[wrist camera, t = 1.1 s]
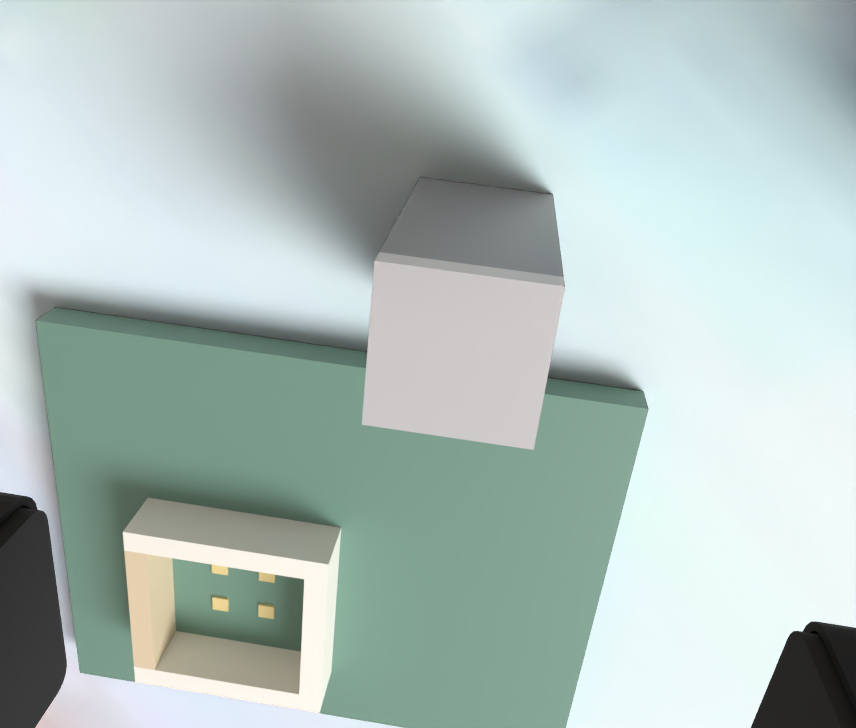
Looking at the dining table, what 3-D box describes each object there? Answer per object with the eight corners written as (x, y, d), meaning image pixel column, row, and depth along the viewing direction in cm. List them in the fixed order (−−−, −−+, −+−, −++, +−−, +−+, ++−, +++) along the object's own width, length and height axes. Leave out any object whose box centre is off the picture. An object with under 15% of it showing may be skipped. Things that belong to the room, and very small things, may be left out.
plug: (419, 177, 24) (374, 260, 17) (553, 194, 24) (564, 286, 16) (407, 300, 26) (361, 424, 18) (531, 317, 25) (533, 450, 18)
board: (55, 307, 27) (-1, 345, 24) (643, 391, 26) (657, 442, 23) (94, 650, 34) (54, 712, 31) (557, 728, 33) (560, 799, 30)
